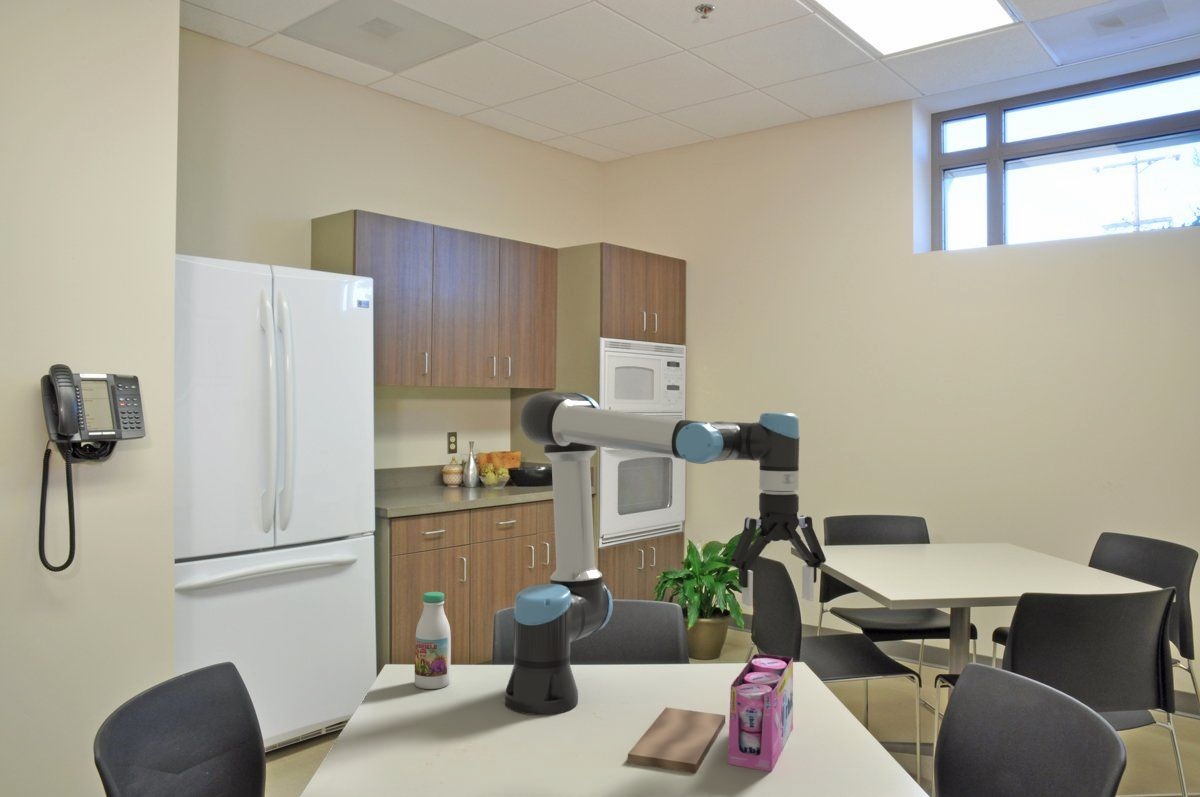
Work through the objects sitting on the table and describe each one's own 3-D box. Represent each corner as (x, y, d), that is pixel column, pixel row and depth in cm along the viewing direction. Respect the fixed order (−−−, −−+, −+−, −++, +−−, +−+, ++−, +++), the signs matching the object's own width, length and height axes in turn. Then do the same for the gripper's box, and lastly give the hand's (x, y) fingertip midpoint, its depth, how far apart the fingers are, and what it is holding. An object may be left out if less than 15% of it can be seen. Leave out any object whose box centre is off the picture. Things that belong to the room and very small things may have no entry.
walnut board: (627, 762, 148) (627, 753, 148) (665, 714, 172) (665, 707, 172) (695, 773, 144) (695, 764, 144) (725, 722, 168) (725, 715, 168)
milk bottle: (421, 678, 194) (422, 589, 194) (454, 680, 193) (455, 590, 193) (409, 689, 186) (410, 596, 186) (443, 691, 185) (445, 597, 185)
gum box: (771, 776, 144) (772, 694, 144) (725, 768, 147) (725, 688, 147) (793, 727, 166) (794, 657, 166) (752, 721, 169) (753, 652, 169)
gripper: (731, 495, 159) (730, 610, 159) (844, 492, 168) (843, 601, 168) (712, 491, 166) (711, 602, 166) (821, 489, 175) (820, 593, 175)
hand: (777, 602), depth 167 cm, fingers open, 13 cm apart
